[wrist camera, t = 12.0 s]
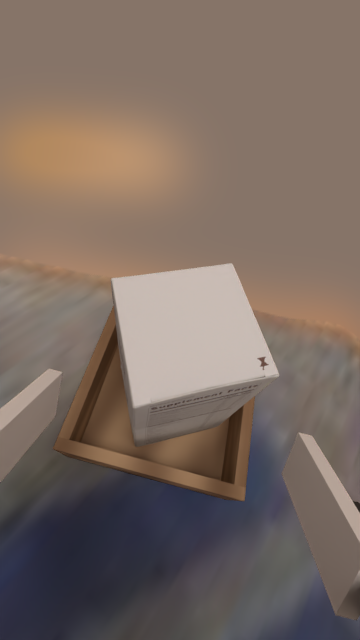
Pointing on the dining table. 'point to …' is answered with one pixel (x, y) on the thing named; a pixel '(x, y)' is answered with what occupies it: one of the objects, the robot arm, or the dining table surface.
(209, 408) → the supplement box
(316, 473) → the robot arm
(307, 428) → the dining table surface
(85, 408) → the oak crate
